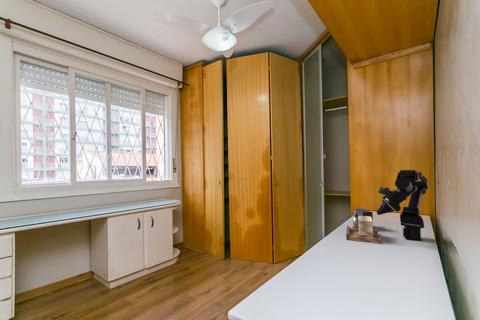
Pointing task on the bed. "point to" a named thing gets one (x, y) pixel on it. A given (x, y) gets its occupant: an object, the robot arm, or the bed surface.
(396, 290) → the bed surface
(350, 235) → the bay
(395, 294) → the bed surface
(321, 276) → the bed surface
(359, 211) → the small box
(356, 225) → the flanged metal cylinder
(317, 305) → the bed surface
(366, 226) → the pale wooden box
